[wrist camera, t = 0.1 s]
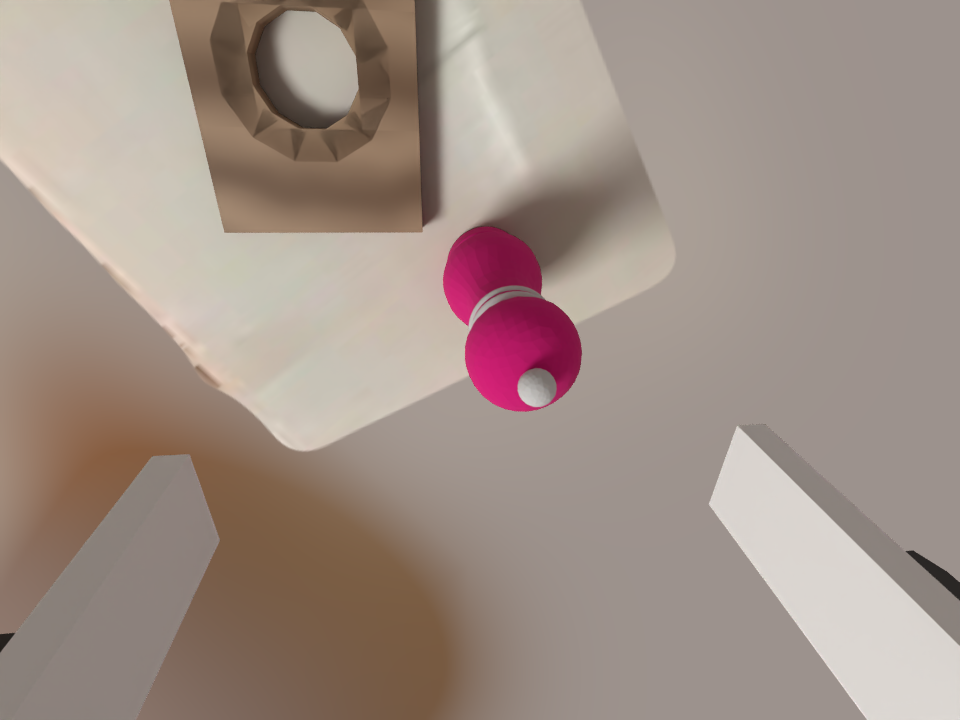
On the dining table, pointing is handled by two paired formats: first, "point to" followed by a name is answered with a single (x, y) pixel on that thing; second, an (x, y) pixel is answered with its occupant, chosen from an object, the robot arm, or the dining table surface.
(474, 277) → the pepper mill
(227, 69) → the board
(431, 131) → the dining table surface
